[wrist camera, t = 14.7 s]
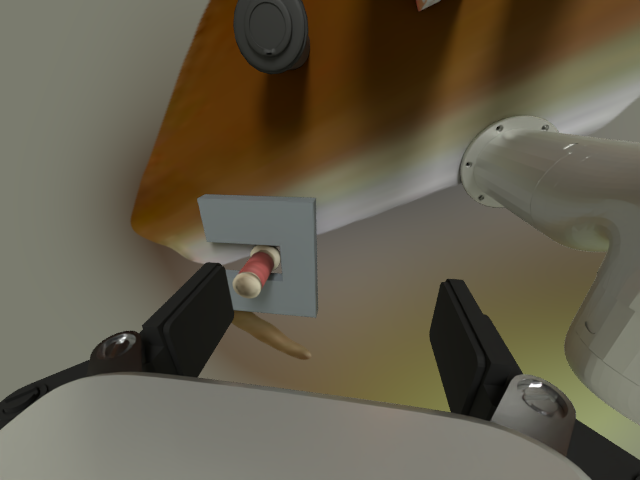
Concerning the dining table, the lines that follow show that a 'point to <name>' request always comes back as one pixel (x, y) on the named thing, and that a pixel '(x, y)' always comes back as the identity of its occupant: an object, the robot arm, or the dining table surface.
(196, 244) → the dining table surface
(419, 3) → the cracker box
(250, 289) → the bobbin
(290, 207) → the notched board
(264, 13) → the coffee cup
